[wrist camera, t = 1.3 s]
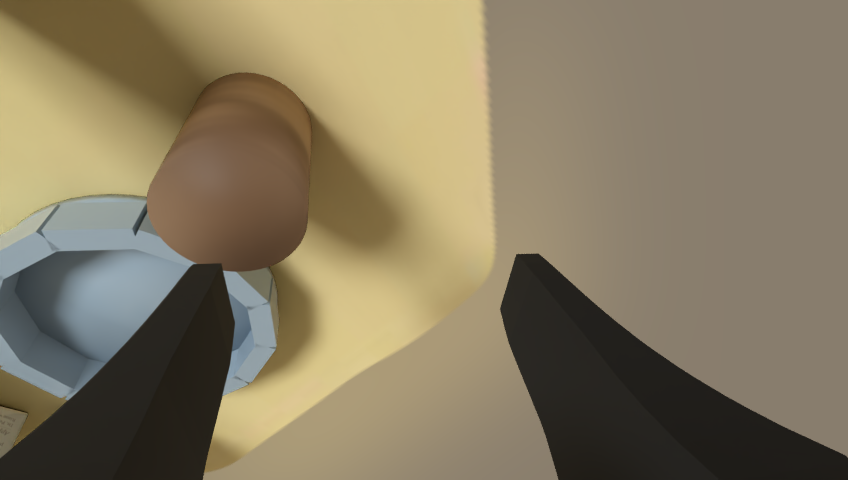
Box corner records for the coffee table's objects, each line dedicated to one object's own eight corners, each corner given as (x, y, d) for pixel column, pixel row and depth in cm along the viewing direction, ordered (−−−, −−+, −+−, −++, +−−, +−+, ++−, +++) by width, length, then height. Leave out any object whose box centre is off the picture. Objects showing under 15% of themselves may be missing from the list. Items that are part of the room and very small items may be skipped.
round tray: (60, 379, 25) (39, 420, 23) (-63, 195, 18) (-108, 233, 16) (287, 362, 27) (284, 398, 25) (263, 193, 20) (257, 226, 18)
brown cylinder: (206, 176, 19) (168, 274, 14) (182, 69, 16) (125, 148, 12) (314, 176, 20) (311, 268, 15) (308, 75, 17) (302, 150, 13)
